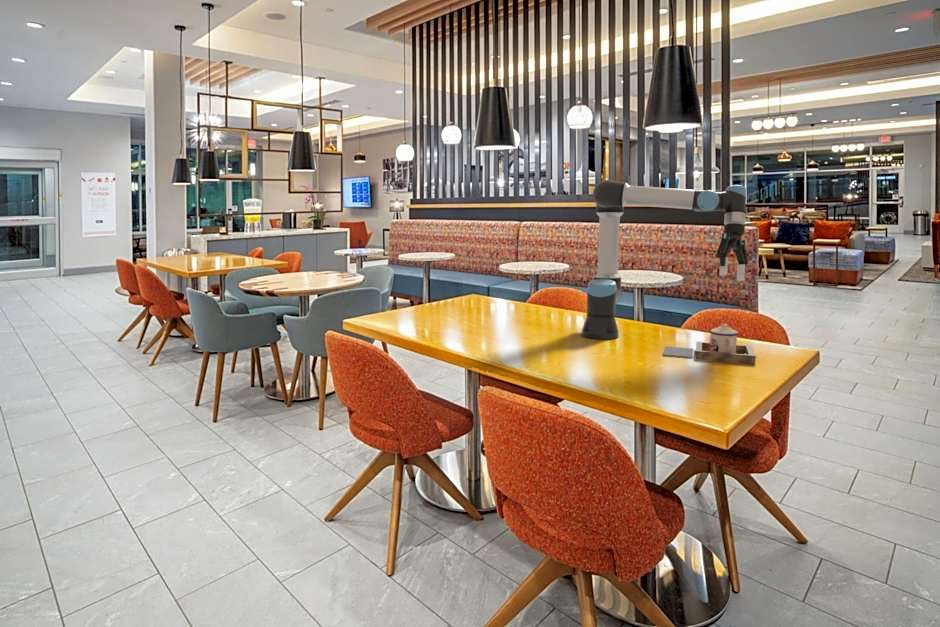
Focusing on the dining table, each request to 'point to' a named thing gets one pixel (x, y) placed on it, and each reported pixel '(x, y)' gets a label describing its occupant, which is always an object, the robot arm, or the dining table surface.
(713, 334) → the teacup with lid
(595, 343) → the dining table surface
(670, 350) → the charcoal rubber mat
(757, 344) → the dining table surface
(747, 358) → the walnut board
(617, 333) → the robot arm
